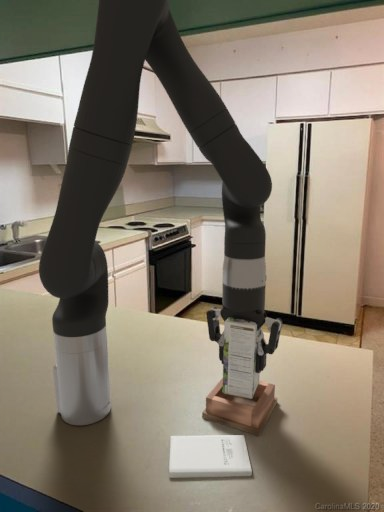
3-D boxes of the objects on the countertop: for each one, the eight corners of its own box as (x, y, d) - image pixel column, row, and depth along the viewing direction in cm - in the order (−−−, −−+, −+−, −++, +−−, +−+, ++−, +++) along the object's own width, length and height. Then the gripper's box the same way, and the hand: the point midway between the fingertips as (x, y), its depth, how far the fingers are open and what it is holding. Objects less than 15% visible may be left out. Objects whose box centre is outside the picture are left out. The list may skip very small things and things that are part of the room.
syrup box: (230, 378, 76) (231, 309, 73) (260, 384, 74) (262, 313, 71) (222, 393, 71) (222, 320, 68) (253, 400, 69) (255, 324, 66)
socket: (202, 417, 71) (202, 398, 70) (225, 387, 81) (226, 370, 80) (259, 436, 66) (260, 415, 65) (277, 402, 76) (278, 384, 75)
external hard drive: (171, 443, 66) (243, 441, 66) (169, 481, 58) (251, 479, 58) (170, 434, 65) (243, 433, 66) (168, 471, 57) (252, 470, 58)
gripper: (197, 280, 68) (198, 367, 72) (278, 292, 61) (274, 386, 65) (215, 270, 74) (215, 350, 78) (290, 279, 68) (285, 366, 71)
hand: (242, 366), depth 71 cm, fingers closed on syrup box, 6 cm apart
